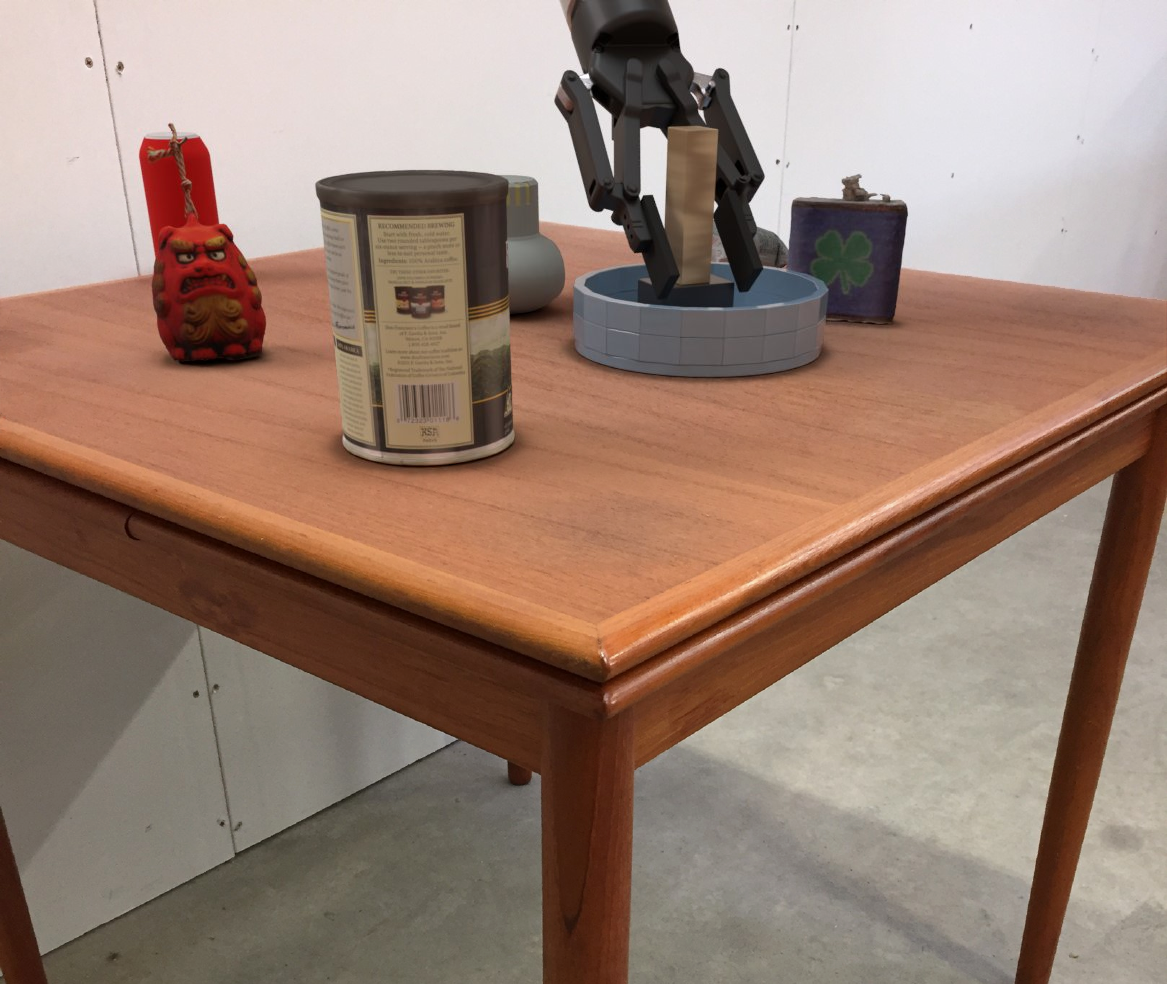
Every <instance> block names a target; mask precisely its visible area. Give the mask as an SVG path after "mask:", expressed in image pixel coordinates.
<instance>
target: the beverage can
mask: <svg viewBox="0 0 1167 984" xmlns="http://www.w3.org/2000/svg"><path fill="white" fill-rule="evenodd" d="M176 133H177V142H179V143H180V142H181V141H182V140H183V139H184V138H185V137H187V140H186V142H185V143H183V144H182V145H181V149H182V154H183V160H184V166H185V173H186V178H187V179H188V180H189V181H191V183H192V190H191V192H190V197H191V200H192V202H193V205H194V207H195V210H196V212H197V214H198V222H199V223H200V224H201V225H204V226H213V225H216V224H220V219H219V211H218V205H217V196H216V189H215V182H214V181H215V180H214V174H213V167H212V159H211V154H210V151H209V149H208V147H207V145H206V144H205V142H204V141H203V139H202V138H201V136H200V135H198V134H197V133H196V132H192V131H191V132H190V131H176ZM172 137H173V134H172V131H159V132H150V133H146V135H145V136H143V139H142V141H141V145H140V148H139V151H138V160H139V165H140V171H141V172H140V173H141V179H142V183H143V184H142V185H143V190H144V196H145V202H146V209H147V214H148V222H149V226H150V233H151V234H150V235H151V239H152V246H153V251H154V258H156V255H157V252H158V250H159V242H158V237H159V233H160V230H161V229H162V228H164V227H168V226H171V227H173V228H181V227H183V226H184V225H186V223H187V220H186V218H185V194H184V192H183V189H182V186H181V183H182V180H181V177H180V173H179V169H178V166H177V163H176V160H175V158H174V156H173V155H171V156H168V157H162V158H161V159H159V160H157V161H156V162H152V163H150V162H149V161H148V152H147V148H148V147H149V146H150V147H153V148H155V149H156V150H168V149H170V146H169V145H168V144H170V143H169V141H170V140H171V139H172Z"/></svg>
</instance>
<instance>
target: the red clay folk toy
mask: <svg viewBox="0 0 1167 984" xmlns="http://www.w3.org/2000/svg"><path fill="white" fill-rule="evenodd" d="M167 126H168V129H170V132H172V134H173V137H172V139H171V140H170V141H169V143H170V144H168V145H169V146H170V149H168V150H156V149H155V148H153V147H150V146H149V147H148V148H147V152H148V161H149V162H150V163H152V162H156V161H157V160H159V159H161V158H162V157H168V156H171V155H173V156H174V158H175V160H176V163H177V166H178V169H179V173H180V177H181V180H182V183H181V186H182V189H183V192H184V194H185V218H186V220H187V223H186V225H184V226H183V227H181V228H173V227H171V226H168V227H164V228H162V229H161V230H160V233H159V237H158V242H159V250H158V252H157V255H156V258H155V257H154V258H155V259H154V264H153V275H152V281H151V293H152V294H151V295H152V304H153V309H154V312H155V313H156V314H155V315H156V326H157V331H158V334H159V338H160V340H161V341H162V343H163V345H164V346H165V349H166V350H167V352H168V354H169V355H170V357H171V358H172V360H174V361H178V362H179V363H183V362H187V361H188V362H194V361H203V362H208V360H209V361H210V360H215V359H216V360H217V359H226V360H228V361H240V360H244V359H249V358H254V357H257V356H259V355H262V354H263V345H264V339H265V335H266V328H267V318H266V317H267V316H266V313H265V311H264V307H263V306H262V303H263V296H262V292H261V290H260V288H259V286H258V279H257V276H256V274H255V272H254V271H253V269H252V268H251V266H250V265H249V263H248V261H247V259H246V257H245V256H244V254H243V253H242V251H241V250H240V248H239V247H238V246H237V244H236V243H235V242H234V234H233V233H232V230H231V228H230V227H229V226H228V225H227V224H225V223H219V224H216V225H213V226H204V225H201V224H200V223H199V222H198V214H197V212H196V210H195V207H194V205H193V202H192V200H191V197H190V192H191V190H192V183H191V181H189V180H188V179H187V178H186V173H185V166H184V160H183V154H182V149H181V145H182V144H183V143H185V142H186V140H187V137H185V138H184V139H183V140H182V141H181V142H180V143H179V142H177V133H176V132H177V129H176V127H175V125H174V123H171V122H169V123H168V124H167Z"/></svg>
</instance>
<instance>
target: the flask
mask: <svg viewBox="0 0 1167 984" xmlns="http://www.w3.org/2000/svg"><path fill="white" fill-rule="evenodd" d="M862 177H863V176H862V174H860V173H857V174H854V175H851V176H846V177H845V178H842V179H841V184H842V185H843V186H844V188H842V189H841V192H842V198H834V197H833V198H831V197H830V198H829V197H817V196H811V197H803V196H802V197H801V196H799V197H796V198H794V199H793V200H792V202H791V207H790V229H789V239H788V250H789V252H788V261H787V265H786V266H785V269H787V270H791V271H795V272H800V273H804V274H808V275H810V276H812V277H815V278H817V279H819V280H821V281H824V283H825V284H826V286H827V288H828V290H829V292H828V302H827V312H826V321H835V322H836V321H847V322H850V323H851V322H852V323H853V322H861V323H874V324H877V325H881V324H883V325H885V324H887V325H888V324H893V323H894V318H895V316H896V310H897V303H898V297H899V286H900V280H901V278H900V277H901V272H902V264H903V255H904V247H905V242H906V241H905V239H906V233H907V224H908V223H907V222H908V217H909V211H908V205H907V203H906V202H905V201H904V200H902V199H891V197H892V196H890V195H889V194H886V193H879V194H878V193H876V192H871V193H869V192H868V191H867V190H866V189H865V188H864V187H860V179H862ZM878 195H879V196H882V198H881V199H875V198H874V199H873V198H872V197H876V196H878Z"/></svg>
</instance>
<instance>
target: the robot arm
mask: <svg viewBox="0 0 1167 984" xmlns="http://www.w3.org/2000/svg"><path fill="white" fill-rule="evenodd" d="M558 2H559V5H560V7H561V10H562V12H563V15H564V19H565V22H566V24H567V27H568V29H569V33H570V36H571V37H570V38H571V41H572V45H573V48H574V50H575V53H576V56H577V59H578V62H579V65H580V68H581V71H582V74H578V73H577V72H576V71H575V70H572V69H567V70H565V71H564V72H563V73H562V76H561V79H560V82H559V85H558V88H557V91H556V93H555V96H554V102H553V103H554V105H555V106H556V107H557V109H558V111H559V112H560V114H561V116H562V118H563V119H564V121H565V122H566V123H567V127H568V130H569V134H570V138H571V141H572V146H573V149H574V153H575V157H576V161H577V165H578V169H579V172H580V176H581V180H582V184H583V188H584V192H585V197H586V200H587V204H588V207H589V209H591V210H592V211H593V212H595V213H602V212H604V211H605V210H607V211H611V212H612V213H611V215H610V221H611V222H612V223H613V224H614V225H615V226H619V227H622V228H623V230H624V234H625V237H626V239H627V244H628V246H629V249H630V250H631V251H632V253H633V254H641V256H642V259H643V263H645V265H646V268H647V271H648V274H649V277H650V280H651V283H652V286H653V289H654V292H655V295H656V298H657V300H661V299H667V297H668V296H669V294H670V292H671V290H672V289H673V287H674V285H675V283H676V282H677V280H678V278H679V276H680V273H679V270H678V267H677V264H676V261H675V258H674V256H673V253H672V250H671V247H670V244H669V241H668V238H667V235H666V232H665V229H664V223H663V220H662V217H661V215H660V212H659V209H658V206H657V203H656V199H655V197H654V194H643V195H642V197H641V198H640V195H641V191H642V182H641V181H642V180H641V179H642V178H641V176H642V174H641V173H642V171H641V167H642V166H641V164H642V163H641V129H644V128H647V127H649V128H653V129H659V130H660V132H661V133H662V134H663V136H664V137H665V139H666V140H668V127H680V126H701V127H707V128H713V129H718V143H717V162H716V180H715V199H714V203H715V204H716V205H717V206H716V209H714V217H713V220H714V222H715V225H716V228H717V231H718V234H719V236H720V239H721V242H722V245H723V248H724V251H725V254H726V256H727V259H728V262H729V265H730V268H731V271H732V274H733V276H734V279H735V282H736V285H737V288H738V291H739V293H741V292H748V291H749V290H750V288H751V287H752V285H753V284H754V282H755V281H756V279H757V278H758V276H759V275H760V273H761V272H762V270H763V269H764V268H763V265H762V263H761V260H760V257H759V254H758V251H757V248H756V246H755V243H754V240H753V238H754V237H755V235H756V233H757V227H758V225H757V222H756V220H755V217H754V215H753V212H752V209H751V205H750V203H751V202H752V200H753V199H754V197H755V196H756V194H757V192H758V190H759V189H760V187H761V186H762V184H763V182H764V180H765V178H766V175H765V172H764V170H763V168H762V165H761V163H760V161H759V158H758V155H757V153H756V151H755V149H754V147H753V144H752V142H751V140H750V137H749V134H748V133H747V130H746V127H745V126H744V125H745V124H744V123H743V120H742V118H741V116H740V114H739V111H738V109H737V106H736V105H735V104H736V103H735V102H734V100H733V96H732V95H731V94H732V93H731V80H730V79H731V77H730V73H729V72H728V70H726V69H725V68H723V67H718V68H716V69H715V70H714V72H713V74H712V75H709V74H704V73H700V72H696V71H695V70H694V67H693V66H692V64H691V63H690V61H688V59H686V57H685V55H684V54H683V52H682V49H681V42H680V33H679V28H678V25H677V23H676V19H675V17H674V14H673V11H672V8H671V5H670V2H669V0H559V1H558ZM693 95H694V96H695V97H694V96H693ZM594 101H595V102H596V103H598V104H599V105H600V106H601V107H602V108H603V109H604V110H606V111H607V112H608V114H610V115H611V141H613V169H612V166H611V162H610V159H609V155H608V151H607V147H606V144H605V139H604V136H603V132H602V128H601V124H600V121H599V115H598V113H597V110H596V106H595V105H596V104H595V103H594ZM700 111H702V113H703V117H702V116H701V114H700ZM703 118H704V119H703Z"/></svg>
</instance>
